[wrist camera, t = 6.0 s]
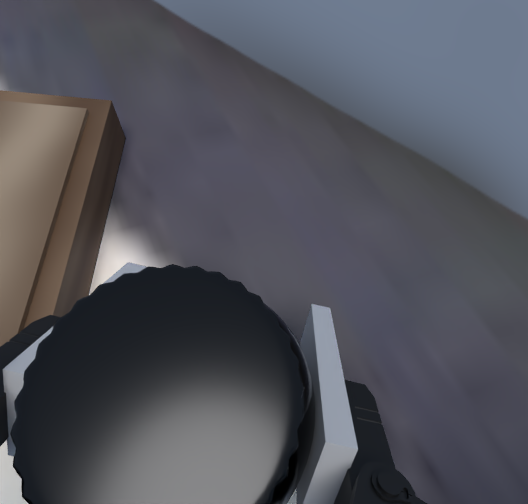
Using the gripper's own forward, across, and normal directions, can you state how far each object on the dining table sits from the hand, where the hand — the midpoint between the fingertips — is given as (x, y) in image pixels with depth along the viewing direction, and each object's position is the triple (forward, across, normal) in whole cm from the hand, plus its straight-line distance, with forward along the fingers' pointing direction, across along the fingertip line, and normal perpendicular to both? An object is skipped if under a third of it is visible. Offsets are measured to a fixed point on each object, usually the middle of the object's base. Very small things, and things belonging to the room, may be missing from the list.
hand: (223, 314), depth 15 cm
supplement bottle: (+1, 0, -6) cm, 6 cm away
